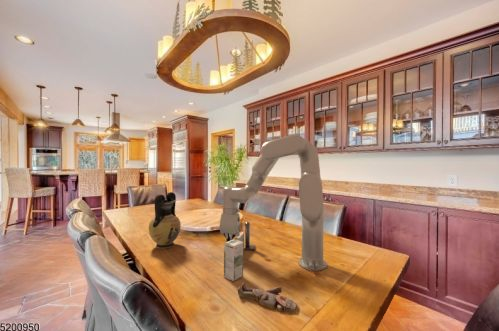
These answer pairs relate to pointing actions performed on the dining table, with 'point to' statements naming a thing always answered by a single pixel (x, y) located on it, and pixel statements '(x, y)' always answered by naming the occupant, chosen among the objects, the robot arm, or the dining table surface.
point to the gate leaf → (240, 238)
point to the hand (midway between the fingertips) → (229, 246)
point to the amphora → (164, 221)
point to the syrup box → (233, 259)
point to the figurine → (268, 298)
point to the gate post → (248, 238)
